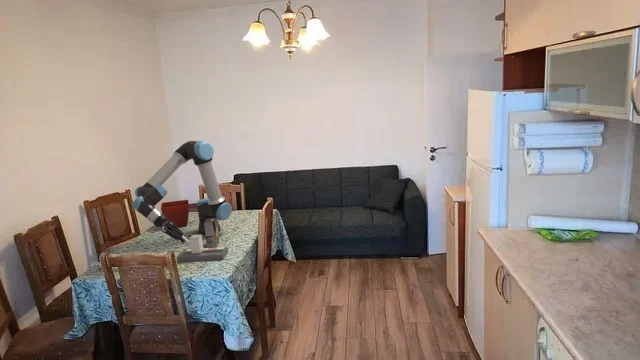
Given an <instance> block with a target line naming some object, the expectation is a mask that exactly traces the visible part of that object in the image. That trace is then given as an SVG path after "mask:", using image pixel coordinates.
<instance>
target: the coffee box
mask: <svg viewBox="0 0 640 360" xmlns="http://www.w3.org/2000/svg"><path fill="white" fill-rule="evenodd" d="M217 221H218V219H217V218H210V219H206V221H205V222H204V226H205V234H206V235H205V242H206V243H205V244H206V248H218V246H219V244H220V236H219V232H218V225H217Z"/></svg>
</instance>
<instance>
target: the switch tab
mask: <svg viewBox="0 0 640 360" xmlns="http://www.w3.org/2000/svg"><path fill="white" fill-rule="evenodd" d="M188 240H189V241H190V249H191V253H192V254H197V253H201V252H202V251H203V250H204V249H203V248H204V242H203V235H200V234H192V235H191V236H190V237H189V239H188Z"/></svg>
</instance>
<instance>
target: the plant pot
mask: <svg viewBox="0 0 640 360" xmlns="http://www.w3.org/2000/svg"><path fill="white" fill-rule="evenodd" d="M160 205H161V206H160V210H161V211H160V212H161V214H164V215H165V216H166V217H167V219H166V220H167V221H169V222H170V223H171V222H174V224H175V225H176V226H177V227H178V228H179V229H180V228H185V227H187V226H188V223H189V215H190V202H189V199H182V200H173V201H166V202H165V201H164V202H161V203H160Z"/></svg>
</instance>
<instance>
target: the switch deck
mask: <svg viewBox="0 0 640 360" xmlns="http://www.w3.org/2000/svg"><path fill="white" fill-rule="evenodd" d="M203 249H204V250H203V251H202V252H201V253H197V254H192V253H191V248H188V249H185V248H184V249H183V250H182V252H180V253H179V254H178V255H177V256H176V261H177V263H187V262H188V263H189V262H203V261H222V260H224V259H226V256H227V255H228V253H229V247H227V246H225V247H223V246H221V247H209V248H207V247H205V248H204V247H203Z"/></svg>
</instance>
